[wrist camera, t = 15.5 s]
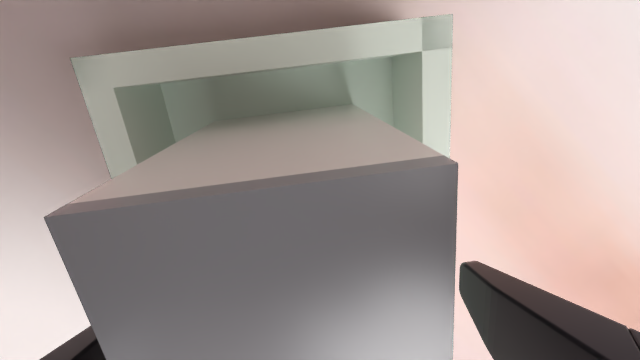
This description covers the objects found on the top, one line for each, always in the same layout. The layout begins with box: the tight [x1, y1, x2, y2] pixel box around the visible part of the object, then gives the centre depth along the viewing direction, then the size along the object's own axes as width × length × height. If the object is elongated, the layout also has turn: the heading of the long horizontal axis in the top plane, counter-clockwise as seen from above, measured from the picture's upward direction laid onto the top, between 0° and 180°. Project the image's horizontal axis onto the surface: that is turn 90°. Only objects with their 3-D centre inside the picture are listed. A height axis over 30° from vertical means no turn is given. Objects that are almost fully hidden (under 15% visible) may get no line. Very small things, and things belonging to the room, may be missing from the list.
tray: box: [70, 14, 453, 179], centre depth 12 cm, size 10×14×4 cm
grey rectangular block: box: [44, 104, 458, 360], centre depth 9 cm, size 5×9×8 cm, turn 7°
